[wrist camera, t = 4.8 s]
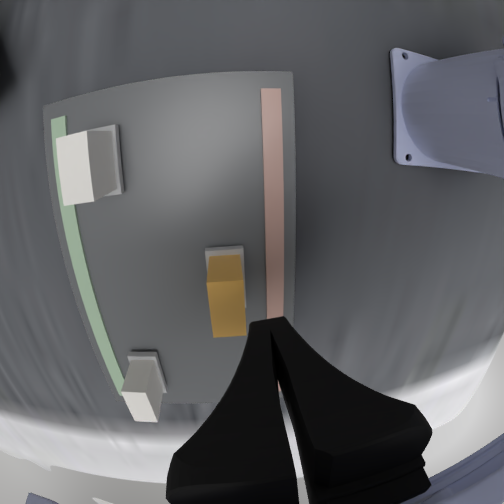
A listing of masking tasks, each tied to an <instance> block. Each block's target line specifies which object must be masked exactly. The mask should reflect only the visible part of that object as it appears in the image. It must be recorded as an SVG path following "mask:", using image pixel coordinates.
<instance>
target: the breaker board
mask: <svg viewBox="0 0 504 504" xmlns="http://www.w3.org/2000/svg"><path fill="white" fill-rule="evenodd" d="M43 123H44V141H45V153H46V164H47V173H48V180H49V188H50V194H51V201H52V207H53V212H54V218H55V223H56V228H57V233H58V237H59V242H60V246H61V250H62V254H63V258H64V262H65V266H66V270H67V274H68V277H69V281H70V284H71V288H72V291H73V294H74V297H75V300H76V304H77V307H78V310H79V313H80V316H81V318H82V321H83V324H84V327H85V330H86V332H87V335H88V338H89V340H90V343H91V345H92V348H93V350H94V353H95V355H96V358H97V360H98V362H99V365H100V367H101V369H102V372H103V374H104V376H105V378H106V381H107V383H108V385H109V387H110V389H111V391H112V393H113V395H114V397H115V399H116V401H120V402H125V400H124V397H123V395H122V393H121V389H122V386H123V383H124V380H125V377H126V374H127V371H128V368H129V365H130V363H129V360H128V357H127V356H128V353H129V352H157V355H158V358H159V362H160V365H161V368H162V372H163V375H164V378H165V381H166V384H167V388H168V389H167V393H163V395H162V401H161V403H165V404H192V403H219V402H220V400H221V398H222V397H223V395H224V394H225V392H226V390H227V388H228V386H229V385H230V383H231V381H232V379H233V377H234V374H235V372H236V370H237V367H238V365H239V363H240V360H241V357H242V354H243V351H244V348H245V345H246V341H247V337H248V332H249V324H250V323H251V322H253V321H259V320H265V319H270V318H276V317H281V316H284V317H285V318H287V320H288V321H289V323H290V324H291V325H292V327H293V319H294V292H295V252H296V153H295V114H294V88H293V72H287V71H237V72H217V73H203V74H192V75H183V76H174V77H166V78H159V79H153V80H146V81H141V82H135V83H130V84H124V85H120V86H115V87H110V88H106V89H101V90H97V91H93V92H89V93H85V94H82V95H78V96H74V97H71V98H68V99H64V100H61V101H58V102H54V103H51V104H48V105H45V106H43ZM110 125H118V126H119V142H120V154H121V165H122V175H123V184H124V193H122V194H118V195H111V196H103V197H101V198H99V199H98V200H96V201H94V202H87V203H80V204H73V205H67V206H64V204H63V198H62V192H61V184H60V177H59V168H58V159H57V148H56V138H59V137H63V136H67V135H71V134H75V133H79V132H82V131H86V130H90V129H95V128H100V127H105V126H110ZM240 245H243V251H244V271H245V290H246V308H245V316H246V333H247V335H246V336H232V337H216V338H213V331H212V324H211V316H210V308H209V300H208V291H207V283H206V282H207V267H206V257H205V248H210V247H225V246H240ZM278 388H279V398H280V397H283V395H282V392H281V388H280V385H279V382H278Z"/></svg>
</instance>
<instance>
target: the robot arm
mask: <svg viewBox="0 0 504 504" xmlns="http://www.w3.org/2000/svg"><path fill="white" fill-rule="evenodd" d="M502 43H503V45H504V37H503V39H502ZM402 54H403V55H404V56H405V59H404V58H403V57H402ZM390 60H391V72H392V87H393V110H394V160H395V162H396V163H398V164H401V165H414V166H425V167H436V168H445V169H454V170H463V171H470V172H478V173H486V174H489V175H493V176H496V177H500V178H503V179H504V48H503V49H496V50H489V51H482V52H476V53H471V54H465V55H460V56H455V57H450V58H446V59H441V60H437V59H434V58H431V57H428V56H425V55H422V54H418V53H415V52H411V51H408V50H404V49H400V48H394V49H392V50H391V51H390ZM407 154H408V157H409V158H408V160H406V158H405V157H406V155H407ZM278 382H279V385H280V388H281V392H282V395H283V398H284V401H285V404H286V407H287V410H288V413H289V416H290V419H291V422H292V425H293V429H294V432H295V437H296V441H297V446H298V451H299V456H300V460H301V465H302V470H303V475H304V480H305V485H306V489H307V495H308V499H309V504H502V503H503V502H504V433H503V434H502V435H500V436H499V437H498V438H496V439H495V440H493V441H492V442H491V443H489V444H487V445H486V446H484V447H483V448H481V449H480V450H478V451H477V452H475V453H473V454H472V455H470V456H469V457H467V458H465V459H464V460H462V461H460V462H459V463H457V464H455V465H453V466H451V467H449V468H448V469H446V470H444V471H442V472H440V473H438V474H436V475H434V476H432V477H430V478H428V476H427V474H426V472H425V470H424V468H423V467H424V466H425V461H424V459H423V457H422V453H423V451H424V450H425V448H426V446H427V444H428V443H429V441H430V438H431V436H432V428H431V427H430V425H429V423H428V421H427V420H426V418H425V417H424V416H423V414H422V413H421V412H420V411H419V409H418V408H417V407H416V406H415V405H414V404H410V403H407V402H404V401H401V400H398V399H394V398H391V397H389V396H386V395H384V394H381V393H379V392H376V391H374V390H372V389H370V388H368V387H366V386H364V385H363V384H361V383H359V382H357V381H355V380H353V379H352V378H350V377H348V376H347V375H345V374H344V373H342V372H341V371H339V370H338V369H337V368H335V367H334V366H332V365H331V364H330V363H329V362H327V361H326V360H325V359H324V358H323V357H321V356H320V355H319V354H318V353H317V352H316V351H315V350H314V349H313V348H312V347H311V346H310V345H309V344H308V343H307V342H306V341H305V340H304V339H303V338H302V337H301V336H300V335H299V334H298V333H297V332H296V330H295V329H294V328H293V327H292V325H291V324H290V323H289V321H288V320H287V318H285V317H284V316H281V317H276V318H270V319H265V320H259V321H253V322H251V323H250V324H249V332H248V337H247V341H246V345H245V348H244V351H243V354H242V357H241V360H240V363H239V365H238V367H237V370H236V372H235V374H234V377H233V379H232V381H231V383H230V385H229V386H228V388H227V390H226V392H225V394H224V395H223V397H222V398H221V400H220V402H219V403H218V405H217V406H216V408H215V409H214V410H213V412H212V413H211V415H210V416H209V417H208V418H207V420H206V421H205V422H204V423H203V424H202V426H201V427H200V428H199V429H198V430H197V432H196V433H195V434H194V435H193V436H192V437H191V438H190V439H189V440H188V441H187V442H186V443H185V444H184V445H183V446H182V447H180V448H179V449H178V450H177V451H176V452H175V453H174V454H173V457H172V460H171V463H170V467H169V471H168V475H167V486H166V499H167V500H168V502H169V503H170V504H299V497H298V487H297V477H296V472H295V467H294V463H293V458H292V454H291V450H290V445H289V441H288V437H287V433H286V429H285V424H284V420H283V415H282V411H281V407H280V399H279V388H278ZM26 504H58V503H57V502H55V501H52V500H50V499H47V498H44V497H41V496H38V495H36V494H33V493H29V495H28V497H27V500H26Z"/></svg>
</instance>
